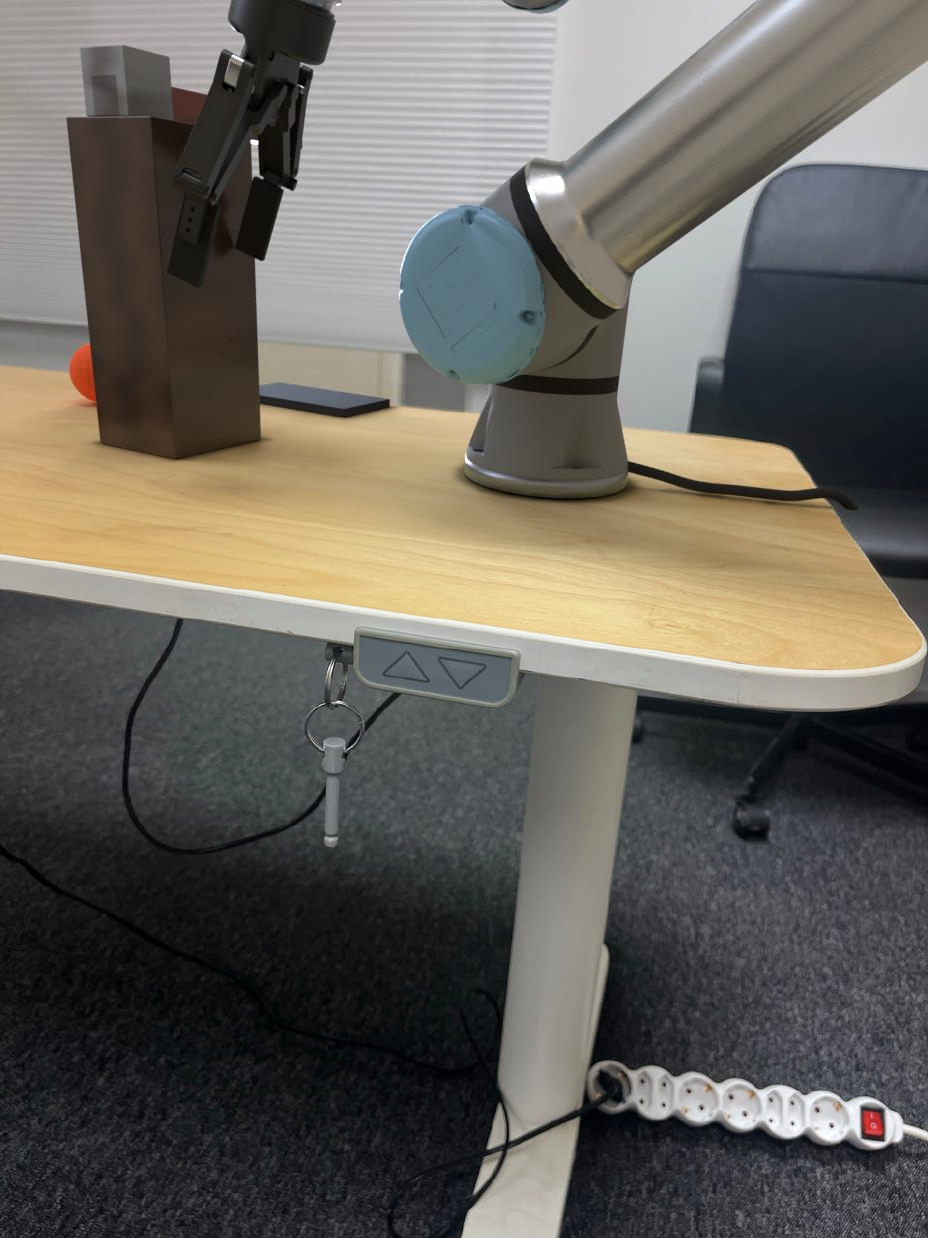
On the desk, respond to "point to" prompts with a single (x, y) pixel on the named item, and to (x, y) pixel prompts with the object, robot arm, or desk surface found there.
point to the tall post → (162, 294)
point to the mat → (319, 399)
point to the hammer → (135, 85)
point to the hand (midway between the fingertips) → (219, 266)
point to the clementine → (83, 372)
